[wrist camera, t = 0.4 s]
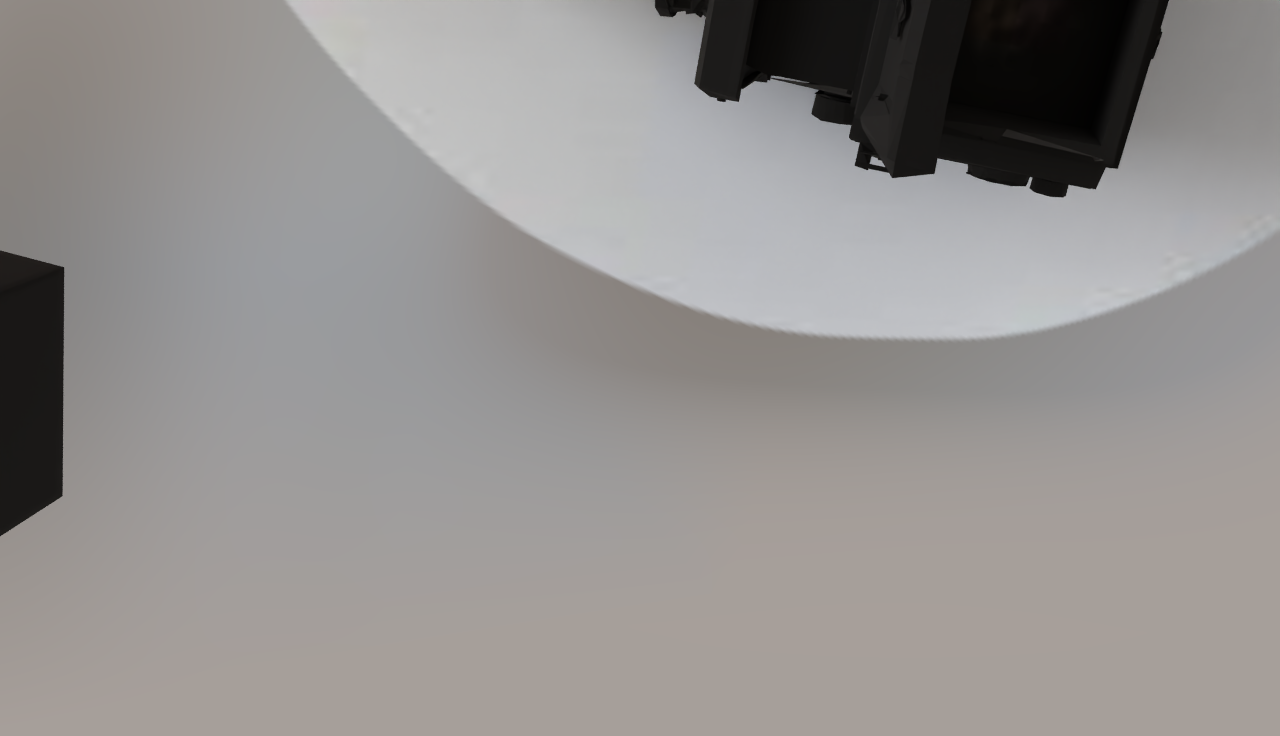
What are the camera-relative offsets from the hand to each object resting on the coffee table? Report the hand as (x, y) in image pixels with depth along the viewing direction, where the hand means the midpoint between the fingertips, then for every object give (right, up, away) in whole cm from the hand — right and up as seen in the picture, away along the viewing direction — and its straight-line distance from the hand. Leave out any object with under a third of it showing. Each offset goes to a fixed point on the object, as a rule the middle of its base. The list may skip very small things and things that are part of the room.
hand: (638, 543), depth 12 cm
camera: (+10, +15, +31) cm, 36 cm away
